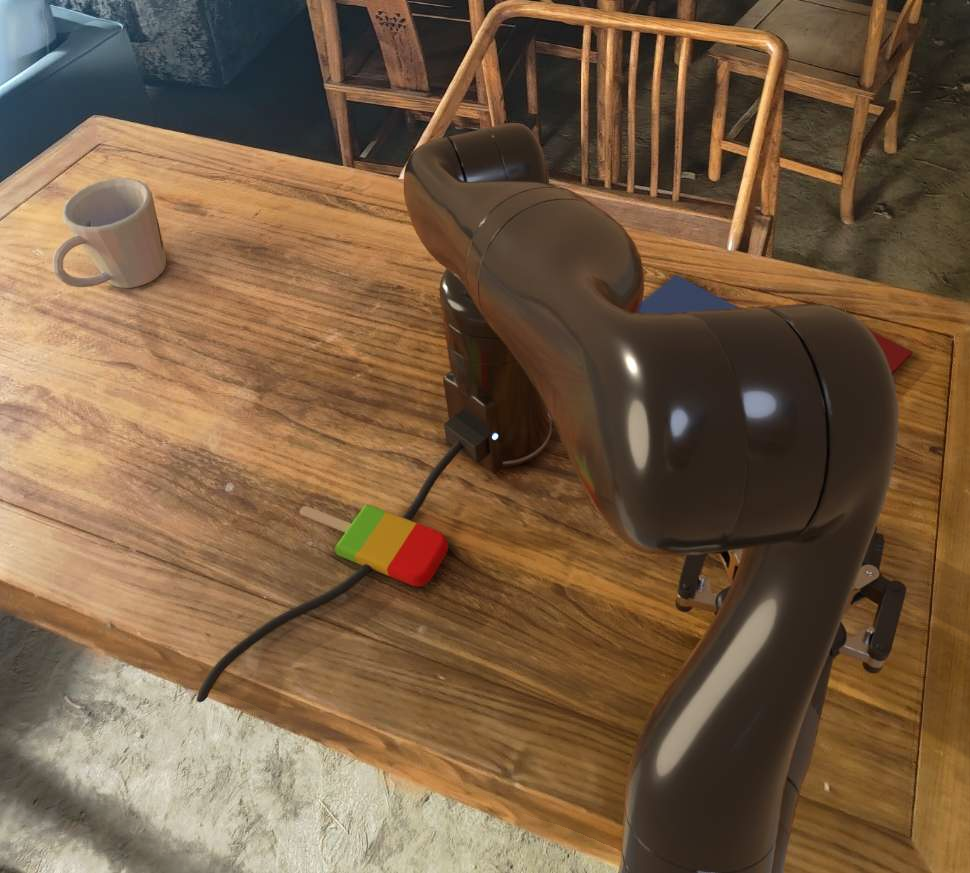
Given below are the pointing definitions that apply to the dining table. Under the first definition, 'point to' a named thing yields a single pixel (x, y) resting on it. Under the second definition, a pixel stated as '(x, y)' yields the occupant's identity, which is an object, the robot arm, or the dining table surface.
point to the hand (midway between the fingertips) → (807, 513)
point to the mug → (113, 234)
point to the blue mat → (682, 299)
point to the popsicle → (387, 543)
